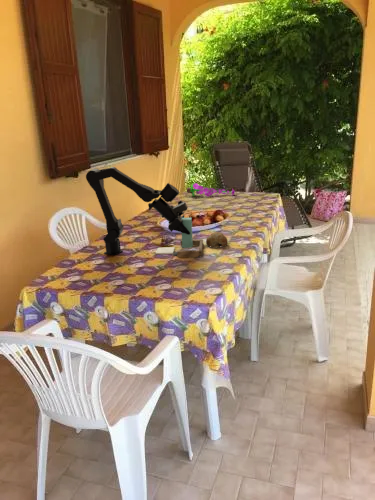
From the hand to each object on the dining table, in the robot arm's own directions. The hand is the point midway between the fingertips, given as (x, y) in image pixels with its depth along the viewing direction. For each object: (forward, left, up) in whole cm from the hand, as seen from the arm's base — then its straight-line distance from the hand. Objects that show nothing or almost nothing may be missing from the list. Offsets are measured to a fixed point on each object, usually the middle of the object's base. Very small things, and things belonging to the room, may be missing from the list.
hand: (190, 232), depth 196 cm
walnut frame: (0, 0, -9) cm, 9 cm away
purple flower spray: (+113, +57, -9) cm, 127 cm away
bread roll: (+13, -6, -9) cm, 17 cm away
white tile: (-6, +10, -9) cm, 15 cm away
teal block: (-1, +1, -7) cm, 7 cm away
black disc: (-7, +2, -9) cm, 11 cm away
